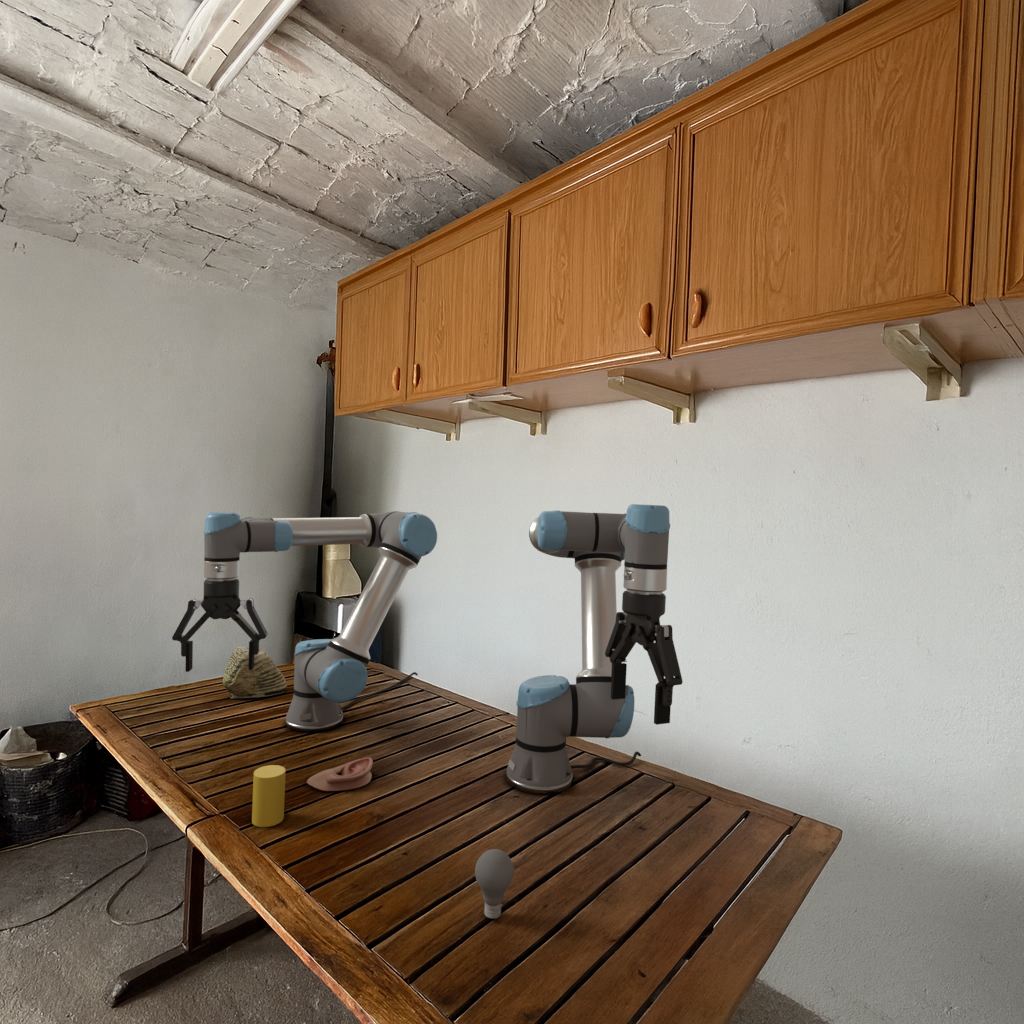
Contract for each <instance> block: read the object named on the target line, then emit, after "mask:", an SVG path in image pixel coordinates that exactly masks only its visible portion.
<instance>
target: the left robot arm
mask: <svg viewBox="0 0 1024 1024" xmlns="http://www.w3.org/2000/svg"><path fill="white" fill-rule="evenodd" d="M203 530H204V531H203V536H204V537H203V539H204V541H203V543H204V544H203V545H204V548H203V549H204V551H203V552H204V553H203V554H204V559H203V578H205V580H204V581H203V598H202V600H199V599H196V598H192V599H190V600H189V601H188V602H187V609H186V611H185V612H184V615H183V616H182V618H181V620H180V622H179V624H178V626H177V627H176V629H175V631H174V633H173V634H172V637H171V640H173V641H177V642H179V643H180V655H181V657H183V658H185V673H189V672H190V671H192V669H193V662H194V661H193V653H194V651H193V650H194V649H193V648H194V647H193V646H194V640H190V639H191V638H192V637H193V636H194V635H195V634H196V633H197V631H198V630H199V629H200V628H202V627H203V624H205V623H206V622H207V621H208V619H210V618H211V619H212V620H219V619H221V620H229V619H230V618H231V619H232V620H233V621H234V622H235V623H236V624H237V625H238V626H239V628H240V629H242V631H243V632H244V633H245V634H246V635H247V636H248V637H249V638H250V641H249V642H248V648H249V670H252V669H253V668H254V655H257V654H258V653H259V648H260V641H261V640H264V639H266V638H267V637H268V635H269V634H268V631H267V629H266V627H265V625H264V623H263V622H262V620H261V618H260V616H259V614H258V611H257V610H256V607H255V601H254V599H253V597H251V598H250V597H249V598H248V599H241V598H240V580H239V577H240V554H241V553H268V552H269V553H271V552H275V553H278V552H285V551H286V552H287V551H288V550H290V549H291V547H297V546H298V547H299V546H300V547H302V546H332V545H333V546H335V545H359V546H360V547H362V548H375V549H376V548H377V549H378V551H379V554H380V557H379V559H378V561H377V562H376V564H375V566H374V569H373V570H372V572H371V574H370V576H369V578H368V580H367V582H366V583H365V586H364V587H363V589H362V591H361V593H360V595H359V597H358V599H357V601H356V603H355V605H354V606H353V608H352V610H351V613H350V614H349V617H348V619H347V620H346V622H345V624H344V625H343V628H342V630H341V631H340V634H339V635H338V636H336V637H334V638H323V639H322V638H319V639H307V640H303V641H299V642H297V644H296V645H295V650H294V653H293V654H294V655H293V656H294V672H293V695H292V696H293V697H292V699H291V702H290V704H289V708H288V711H287V713H286V715H285V726H286V728H287V729H289V730H291V731H294V732H295V731H296V732H301V733H316V732H325V731H329V730H332V729H335V728H337V727H339V726H340V725H342V723H343V722H344V714H343V710H344V709H347V708H349V707H350V706H351V705H353V704H354V703H356V702H359V701H362V700H364V699H367V698H370V697H373V696H375V695H379V694H381V693H384V692H386V691H389V690H391V689H393V688H396V686H398V685H401V684H402V683H403V682H405V681H406V680H408V679H409V678H411V677H413V676H414V675H415V676H419V674H418V672H416V671H414V672H411V673H410V674H409V675H407V676H405V677H404V678H403V679H401V680H400V681H398V682H396V683H394V684H392V685H390V686H388V687H385V688H383V689H381V690H378V691H374V692H372V693H370V694H366V695H363V696H361V697H359V696H360V695H361V693H363V691H364V689H365V687H366V685H367V683H368V670H367V667H368V665H369V662H370V661H371V655H370V652H369V650H370V647H371V646H372V644H373V642H374V640H375V638H376V636H377V634H378V632H379V631H380V628H381V626H382V624H383V622H384V620H385V618H386V616H387V614H388V612H389V610H390V608H391V606H392V604H393V602H394V600H395V599H396V596H397V594H398V592H399V590H400V588H401V586H402V585H403V582H404V580H405V579H406V576H407V575H408V572H409V571H410V570H412V569H414V568H417V567H418V565H419V563H420V561H421V559H422V557H424V556H425V557H426V556H427V555H429V554H431V553H432V551H433V550H434V549H435V547H436V545H437V542H438V531H437V528H436V525H435V522H434V521H433V520H432V519H431V518H430V517H428V516H427V515H425V514H423V513H419V512H416V511H410V512H408V511H397V510H396V511H392V510H391V511H385V512H384V511H383V512H378V513H377V512H376V513H362V514H360V515H359V516H358V517H255V518H254V517H252V516H248V517H247V516H246V517H241V514H240V513H238V512H227V511H225V512H223V511H221V512H219V511H217V512H208V513H207V514H206V516H205V518H204V529H203ZM200 606H201V608H202V609H203V610H204V613H203V614H202V615H201V617H200V618H199V619H198V620H197V621H196V622H195V623H194V624H193V625H192V626H191V628H190V629H189V630H188V631H187V632H186V633H185V634H183V633H184V631H185V630H186V629H187V626H188V624H189V622H190V621H191V619H192V617H193V615H194V613H195V612H196V610H198V609H199V608H200ZM241 606H242V607H243V609H245V610H246V612H247V614H248V616H249V618H250V619H251V622H252V623H253V625H254V627H255V629H256V630H255V629H254V628H253V627H252V626H251V624H249V622H248V621H247V620H246V619H245V618H244V617H243V615H242V614H241V612H240V611H239V610H238V609H240V607H241ZM357 697H358V698H357ZM347 702H348V703H347ZM344 703H346V704H345V705H343V706H341V704H344Z"/></svg>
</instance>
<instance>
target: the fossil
mask: <svg viewBox="0 0 1024 1024" xmlns="http://www.w3.org/2000/svg"><path fill="white" fill-rule="evenodd" d="M222 676H223V677H222V685H223V687H224V688H225V690H226V691H228V693H229V698H230V699H250V698H264V697H271V696H275V695H281V694H284V693H285V691H286V689H287V687H288V686H287V680H286V678H285V676H284V674H283V673H282V672H281V669H279V668H278V667H277V665H276V663H275V662H274V660H273V659H272V658H271V657H270V656H269V655H268V654H267V653H266V652H265V650H264V649H263V648H260V647H259V653H258V654H257V655H254V668H253V669H252V670H249V647H247V646H246V647H245V646H238V647H237V648H236V649H235V650H233V651H232V653H231V656H230V657H229V659H228V660H227V663H226V666H225V668H224V671H223V675H222Z"/></svg>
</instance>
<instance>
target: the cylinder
mask: <svg viewBox="0 0 1024 1024" xmlns="http://www.w3.org/2000/svg"><path fill="white" fill-rule="evenodd" d="M286 770H287V769H286V768H285V767H284V766H282V765H278V764H268V765H263V766H260V767H258V768H256V769H255V770H254V771H253V776H252V777H253V779H252V808H251V823H252V825H253V826H254V827H257V828H258V827H259V828H269V827H274V826H276V825H279V824H280V823H281V822H283V820H284V818H285V801H286V799H285V798H286V797H285V795H286V774H287V773H286Z"/></svg>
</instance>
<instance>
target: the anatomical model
mask: <svg viewBox="0 0 1024 1024" xmlns="http://www.w3.org/2000/svg"><path fill="white" fill-rule="evenodd" d="M373 763H374V761H373V758H372V757H370V756H368V757H362V758H359V759H356V760H352V761H350V762H346V763H344V764H341V765H339V766H336V767H332V768H328V769H325V770H322V771H319V772H317V773H315V774H314V775H311V777H309V778H308V779H306V784H308V786H311V787H313V788H314V789H317V790H319V791H322V792H338V791H348V790H353V789H357V788H360V787H364V786H366V785H367V784H369V783H370V782H371V780H372V779H373V774H372V772H371V770H372V767H373Z"/></svg>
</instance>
